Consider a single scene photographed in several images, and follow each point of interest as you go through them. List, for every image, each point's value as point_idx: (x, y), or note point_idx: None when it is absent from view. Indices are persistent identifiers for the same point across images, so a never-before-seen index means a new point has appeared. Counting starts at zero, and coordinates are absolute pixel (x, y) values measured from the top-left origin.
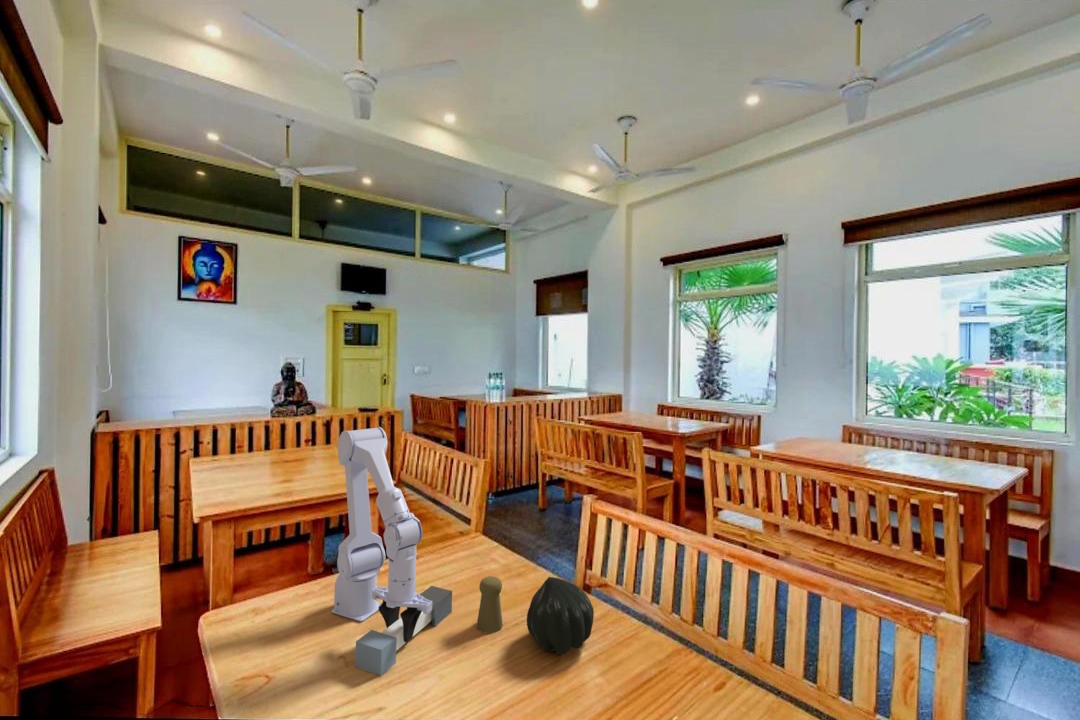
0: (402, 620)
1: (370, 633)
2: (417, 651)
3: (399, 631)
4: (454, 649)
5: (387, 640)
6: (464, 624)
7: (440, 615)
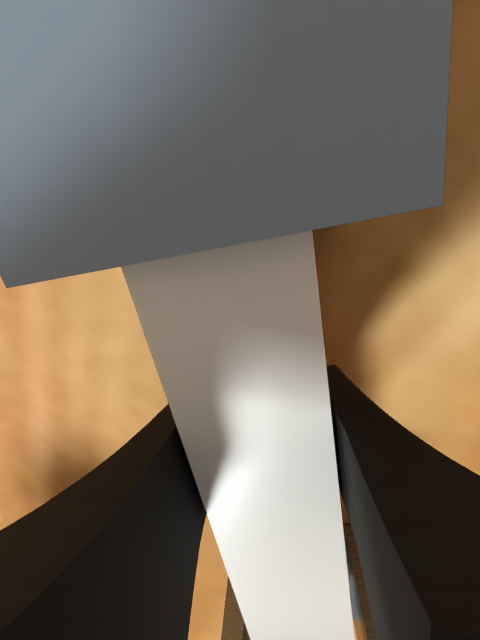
0: (101, 522)
1: (380, 112)
2: (140, 376)
3: (183, 404)
4: (37, 461)
5: (11, 165)
6: None
7: None
